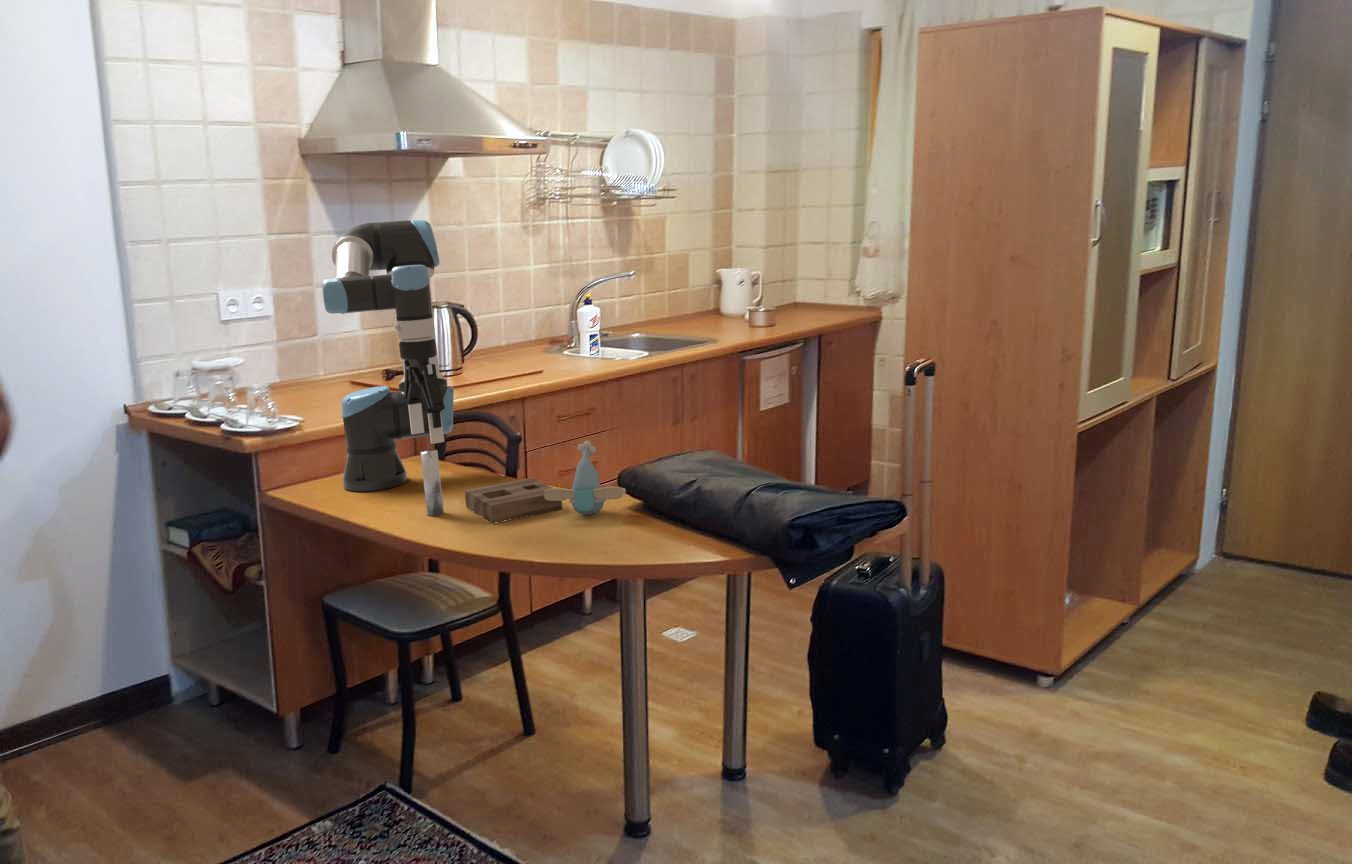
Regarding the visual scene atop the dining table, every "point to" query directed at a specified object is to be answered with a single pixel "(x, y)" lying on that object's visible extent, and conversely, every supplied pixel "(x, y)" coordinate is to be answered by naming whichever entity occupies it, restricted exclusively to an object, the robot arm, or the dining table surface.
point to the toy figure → (585, 486)
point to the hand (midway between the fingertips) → (427, 438)
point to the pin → (432, 482)
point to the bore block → (510, 500)
